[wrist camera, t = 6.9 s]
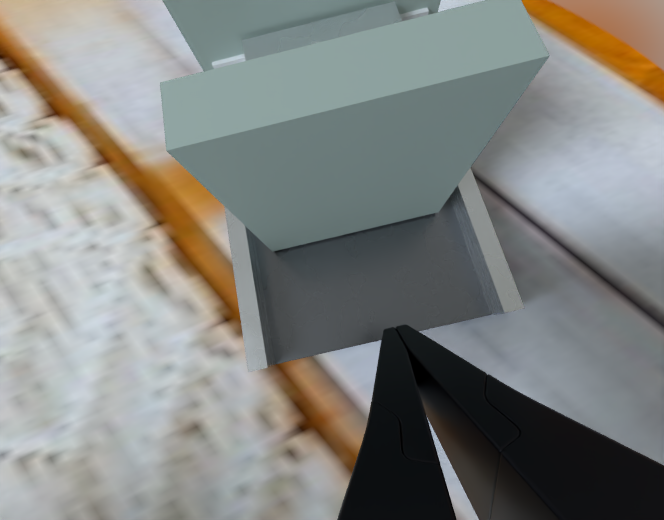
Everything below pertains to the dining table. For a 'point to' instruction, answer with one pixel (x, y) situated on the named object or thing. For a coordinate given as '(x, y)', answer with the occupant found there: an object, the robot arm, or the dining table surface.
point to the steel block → (321, 31)
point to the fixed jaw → (262, 21)
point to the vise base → (370, 281)
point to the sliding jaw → (353, 121)
